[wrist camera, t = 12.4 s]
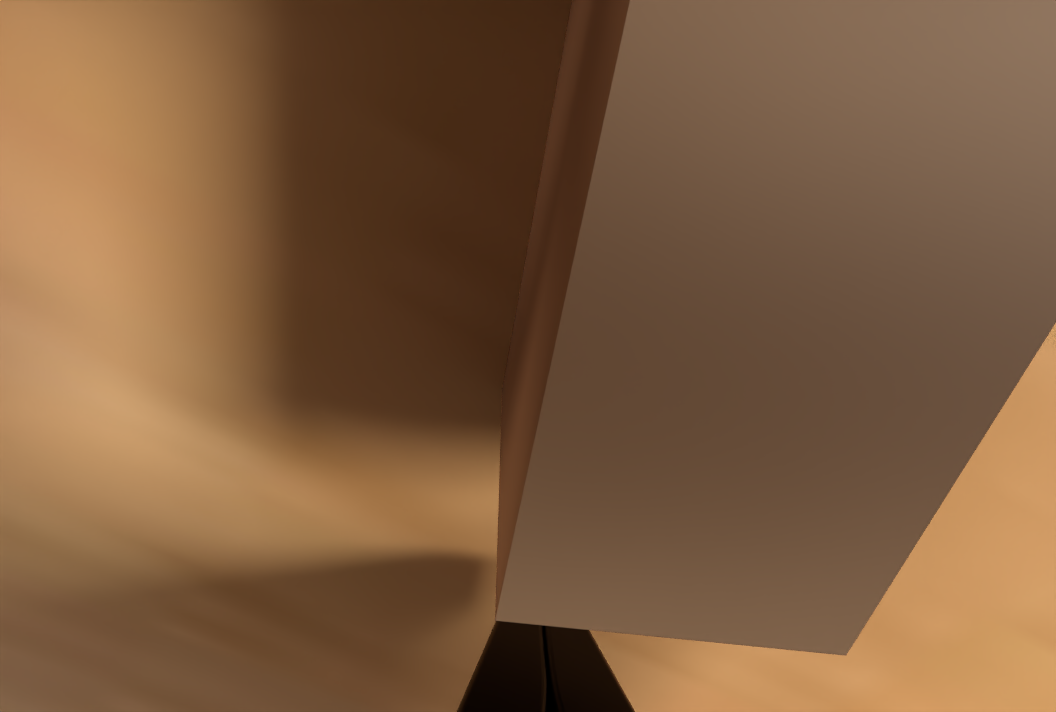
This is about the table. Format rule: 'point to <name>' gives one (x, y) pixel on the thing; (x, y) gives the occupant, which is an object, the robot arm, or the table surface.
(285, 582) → the table surface
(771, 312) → the brown wooden bar
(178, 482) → the table surface
